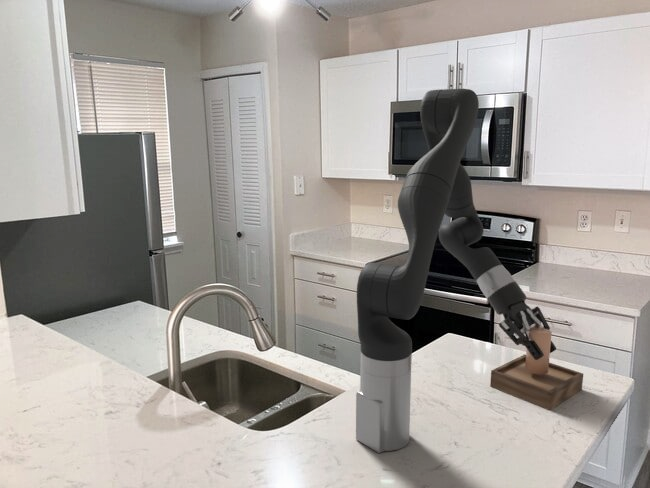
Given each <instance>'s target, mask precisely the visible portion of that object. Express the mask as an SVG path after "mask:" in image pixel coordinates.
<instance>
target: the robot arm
mask: <svg viewBox="0 0 650 488" xmlns="http://www.w3.org/2000/svg"><path fill="white" fill-rule="evenodd" d="M479 102H480V101H479V98H478V95H477V93H476V92H475V91H474V90H473V89H471V88H470V89H469V88H448V89H447V88H446V89H431V90H428V91H427V92H425V94H424V95H423V96H422V99H421V103H420V123H421V126H422V131H423V134H424V138H425V141H426V144H427V147H428V150H429V151H428V152H427V153H426V154H425V155H423V156H422V157H421V158H420V159H419V160H417V162H415V163H414V165H412V166H411V168H409V170H408V172H407V174H406V176H405V178H404V181H403V184H402V186H401V189H400V193H399V196H398V199H397V210H398V214H399V217H400V220H401V223H402V225H403V228H404V231H405V233H406V236H407V237H406V238H407V241H408V254H407V258H406V261H405V263H404V265H399V264H398V265H397V264H392V263H391V264H389V263H382V262H368V263H367V264H365V265H364V266H363V268H361V271H360V273H359V275H358V279H357V283H356V285H357V286H356V309H357V310H356V311H357V312H356V313H357V330H358V333H357V334H358V340H359V343H360V369H359V372H360V377H359V381H360V382H359V385H360V386H359V390H358V391H356V394H355V398H356V399H355V402H356V403H355V440H356V441H358V442H360V443H362V444H363V445H365V446H366V447H368V448H369V449H372V451H375V452H376V453H378V454H380V453H383V452H390V451H397V450H400V449H403V448H404V447H406V446H407V445H408V443H409V442H410V433H411V432H410V428H411V425H410V424H411V394H412V393H411V392H412V391H411V390H412V389H411V388H412V387H411V386H412V357H413V354H412V353H413V342H412V338H411V336H410V335H409V333H407V332H406V331H405V330H404V329H402V328H400V327H399V326H397V325H396V324H395V323H394V322H393V321H391V319H393V318H394V319H398V320H406V321H407V320H408V321H409V320H411V319H413V318H414V317H415V315H416V314H417V313H418V311H419V309H420V307H421V304H422V300H423V297H424V293H425V289H426V284H427V280H428V276H429V272H430V265H431V263H432V258H433V252H434V249H435V246H436V241H437V238H438V239H439V242H440V244H441V245H442V247H443V248H444V249H445V250H446V251H447V252H448V253H450V254H451V255H452V256H453V257H454V258H456V259H457V260H458V262H460V263H461V264H463V266H464V267H466V269H467V270H468V272H469V273H470V274H471V276H472V278H473V279H474V281H475V282H476V283H477V285H478V287H479V289H480V291H481V292H482V294H483V295H484V296H485V298H486V299H487V301H488V302H489V304H490V306H491V307H492V308H493V310H494V311H495V313H496V314H497V315H499V316H500V315H502V316H503V320H502V321H501V322H499V323H498V326H499V327H500V328H501V330H502V331H503V332H504V333H505V334H506V335H507V336H508V337H509V339H511V341H512V342H513V343H514V344H515V345H516V346H519V345H521V346H525V348H526V349H528V351H529V352H530V354H531V355H532V357H533V358H534V359H535V360H538V359H540V358H541V357H543V356H544V354H543V352H542V351H541V349H540V348H539V346H538V345H537V344H536V342H535V341H532V340H533V338H532V336H531V334H530V328H532V327H540V328H545V329H548V330H550V329H551V327H550V325H549V324H548V322H547V320H546V318H545V316H544V314H543V313H542V310H541V308H540V307H539V306H535V307H534V308H531V307H530V306H529V305H527V303H526V299H527V295H526V294H525V293H524V291H523V290H522V288H521V287H520V285H519V284H518V283H517V281H516V280H515V278H514V277H513V276H512V274H511V273H510V271H509V270H507V269H506V268H505V267H504V265H503V264H502V263H501V261H500V260H499V258H498V257H497V256H496V253H494V252H493V250H492V249H491V248H490V247H486V246H483V247H479V248H471V247H470V245H472V244H474V243H477V242H479V241H480V240H481V239H482V238H483V235H484V230H485V229H484V226H483V223H482V221H481V219H480V217H479V214H478V212H477V210H476V207H475V205H474V198H473V190H472V181H471V179H470V175H469V174H468V172H467V171H466V169H465V167H464V166H463V165H462V163H461V160H462V158H463V156H464V152H465V150H466V148H467V145H468V143H469V141H470V139H471V136H472V134H473V131H474V128H475V126H476V122H477V120H478V119H477V118H478V115H479V106H480V105H479ZM444 216H446V217H448V218H450V219H451V218H452V219H454V220H452V221H449V222H447V223H445V224H444V225H442V222H443V219H444ZM441 225H442V226H441ZM390 318H391V319H390ZM556 350H557V347H556V345H555V344H554V343H553V340H551V346H550V354H552V353H553V352H555V351H556Z"/></svg>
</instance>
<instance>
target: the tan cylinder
mask: <svg viewBox="0 0 650 488" xmlns="http://www.w3.org/2000/svg"><path fill="white" fill-rule="evenodd" d="M530 334H531V336H532V338H533V340H532V341H535V342H536V344H537V345H538V346H539V348H540V349H541V351H542V352H543V354H544V356H543V357H541V358H540V359H538V360H535V359H534V358H533V357H532V355H531V354H530V352H529V351H528V349H527V348H526V351H525V355H526V363H525V369H526V370H527V371H528V372H531V373H534V374H546V373H548V370H549V363H550V357H551V356H550V355H551V353H550V346H551V341H552V331H551V330H550V329H549V330H548V329H545V328H540V327H532V328H530Z"/></svg>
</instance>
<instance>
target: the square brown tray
mask: <svg viewBox="0 0 650 488" xmlns="http://www.w3.org/2000/svg"><path fill="white" fill-rule="evenodd" d="M525 363H526V353H525V354H522V355H521V356H519V357H516V358H515V359H512V360H510V361H508V362H506V363H504V364H502V365H500V366H498V367H495V368H493V369H492V370H490V371H491V372H490V385H489V387H491V388H493V389H496V390H499V391H500V392H503V393H505V394H509V395H511V396H513V397H517V398H518V399H521V400H524V401H526V402H528V403H531V404H534V405H536V406H538V407H542V408H544V409H545V410H549V411H551V410H553V409H555V408H556V407H557V406H559V405H561V404H562V403H563V402H565V401H567V400H568V399H570V398H572V397H573V396H575V395H576V394H578V393H579V392H581V391H582V390H583V383H584V382H583V381H584V373H582V372H579V371H577V370H573V369H570V368H568V367H565V366H561V365H558V364H555V363H552V362H549V370H548V373H546V374H534V373H531V372H528V371H527V370H526V369H525Z"/></svg>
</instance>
